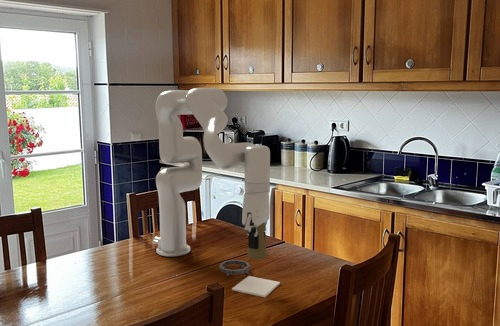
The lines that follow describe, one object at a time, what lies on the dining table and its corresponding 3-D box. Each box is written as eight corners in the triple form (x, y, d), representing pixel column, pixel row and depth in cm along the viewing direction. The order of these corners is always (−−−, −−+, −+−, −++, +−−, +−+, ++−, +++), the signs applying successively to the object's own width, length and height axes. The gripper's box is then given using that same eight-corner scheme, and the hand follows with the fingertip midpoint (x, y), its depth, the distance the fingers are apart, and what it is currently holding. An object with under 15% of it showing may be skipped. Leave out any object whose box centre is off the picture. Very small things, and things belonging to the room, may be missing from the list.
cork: (265, 260, 142) (265, 224, 140) (245, 258, 143) (245, 223, 141) (268, 253, 148) (268, 218, 146) (249, 252, 149) (249, 217, 147)
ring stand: (214, 273, 157) (214, 267, 157) (229, 264, 166) (229, 258, 165) (240, 279, 153) (240, 272, 152) (254, 269, 161) (254, 262, 161)
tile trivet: (232, 290, 144) (232, 288, 144) (248, 277, 154) (248, 275, 154) (265, 297, 140) (265, 295, 139) (280, 283, 149) (280, 282, 149)
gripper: (258, 181, 151) (257, 237, 154) (232, 191, 136) (232, 252, 139) (279, 183, 148) (279, 240, 150) (256, 193, 133) (255, 256, 136)
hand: (256, 245), depth 145 cm, fingers closed on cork, 4 cm apart
